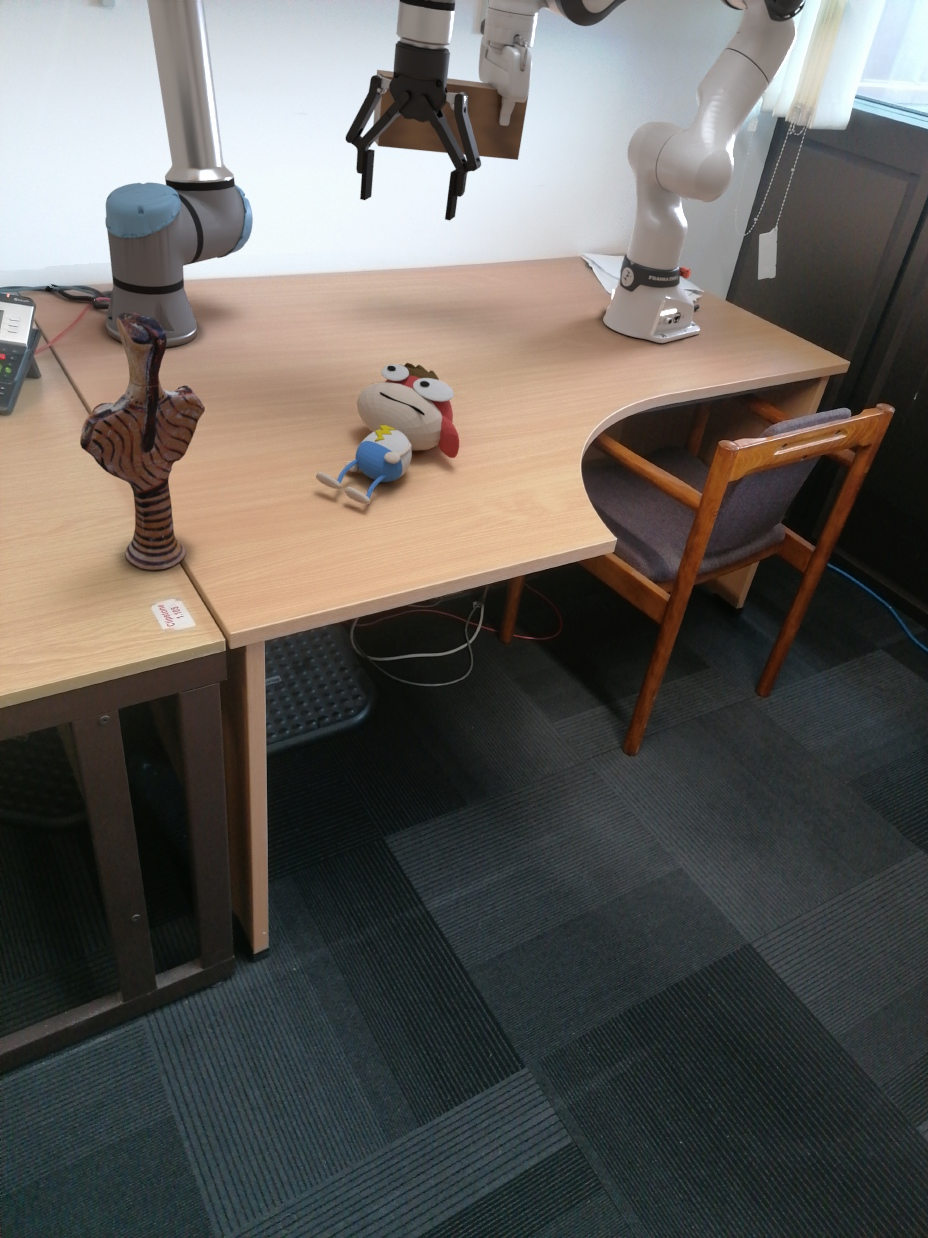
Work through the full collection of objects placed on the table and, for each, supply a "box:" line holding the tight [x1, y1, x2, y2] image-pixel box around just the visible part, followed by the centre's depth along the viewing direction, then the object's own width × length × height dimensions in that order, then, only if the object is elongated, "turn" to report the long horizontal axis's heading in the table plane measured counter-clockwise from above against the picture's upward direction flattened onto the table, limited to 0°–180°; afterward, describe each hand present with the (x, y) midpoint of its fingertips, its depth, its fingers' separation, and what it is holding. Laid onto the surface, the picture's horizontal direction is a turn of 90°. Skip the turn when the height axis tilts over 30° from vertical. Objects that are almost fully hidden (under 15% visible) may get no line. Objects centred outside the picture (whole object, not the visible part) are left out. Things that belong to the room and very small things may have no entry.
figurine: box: [79, 312, 206, 571], centre depth 99 cm, size 15×8×30 cm, turn 144°
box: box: [372, 69, 529, 161], centre depth 160 cm, size 26×6×11 cm, turn 105°
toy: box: [315, 362, 460, 505], centre depth 132 cm, size 18×10×30 cm
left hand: (407, 208), depth 134 cm, fingers open, 13 cm apart
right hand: (497, 119), depth 163 cm, fingers closed on box, 6 cm apart
